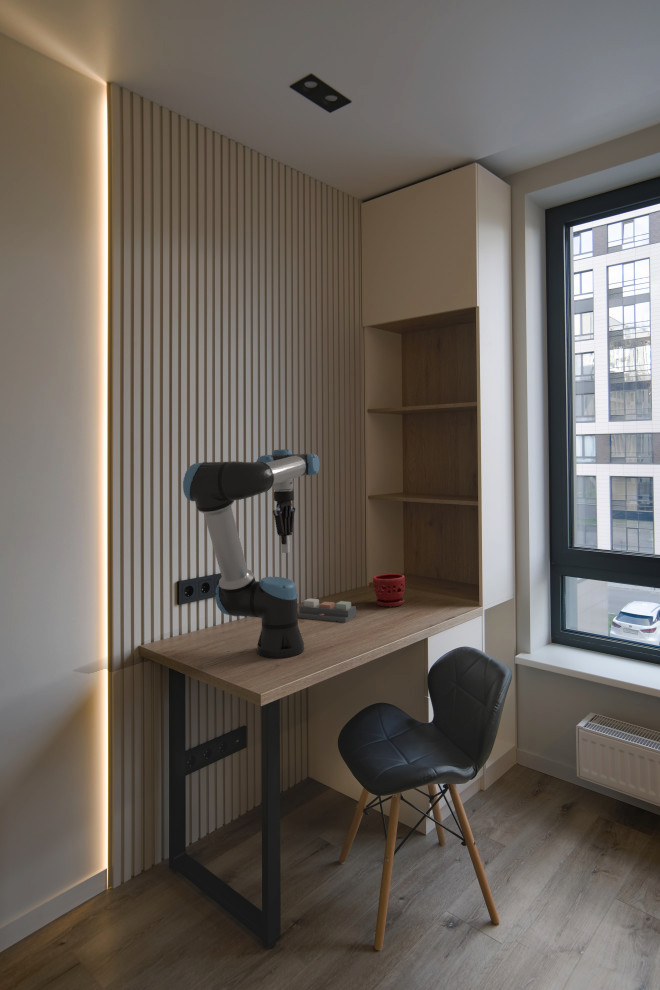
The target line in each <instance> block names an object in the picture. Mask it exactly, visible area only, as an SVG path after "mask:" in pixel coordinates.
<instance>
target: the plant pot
mask: <svg viewBox="0 0 660 990" xmlns="http://www.w3.org/2000/svg"><path fill="white" fill-rule="evenodd" d="M405 580H406V579H405V575H404V574H399V573H386V574H377V575H375V576H373V577H372V582H373V591H374V593H375V596H376V598H377V599H375V600H376V601H375V602H376V604H377V605H379V606H381V607H388V606H389V608H390V607H392V606H393V607H397V606H402V605H403V603H405V598H403V597H404V594H405V587H406V581H405Z"/></svg>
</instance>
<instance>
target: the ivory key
mask: <svg viewBox="0 0 660 990" xmlns="http://www.w3.org/2000/svg"><path fill="white" fill-rule="evenodd" d="M319 603H320V600H319V598H318V599H317V598H307V599H305V600H303V604H304V606H308V607H316V606H318V605H319Z"/></svg>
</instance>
